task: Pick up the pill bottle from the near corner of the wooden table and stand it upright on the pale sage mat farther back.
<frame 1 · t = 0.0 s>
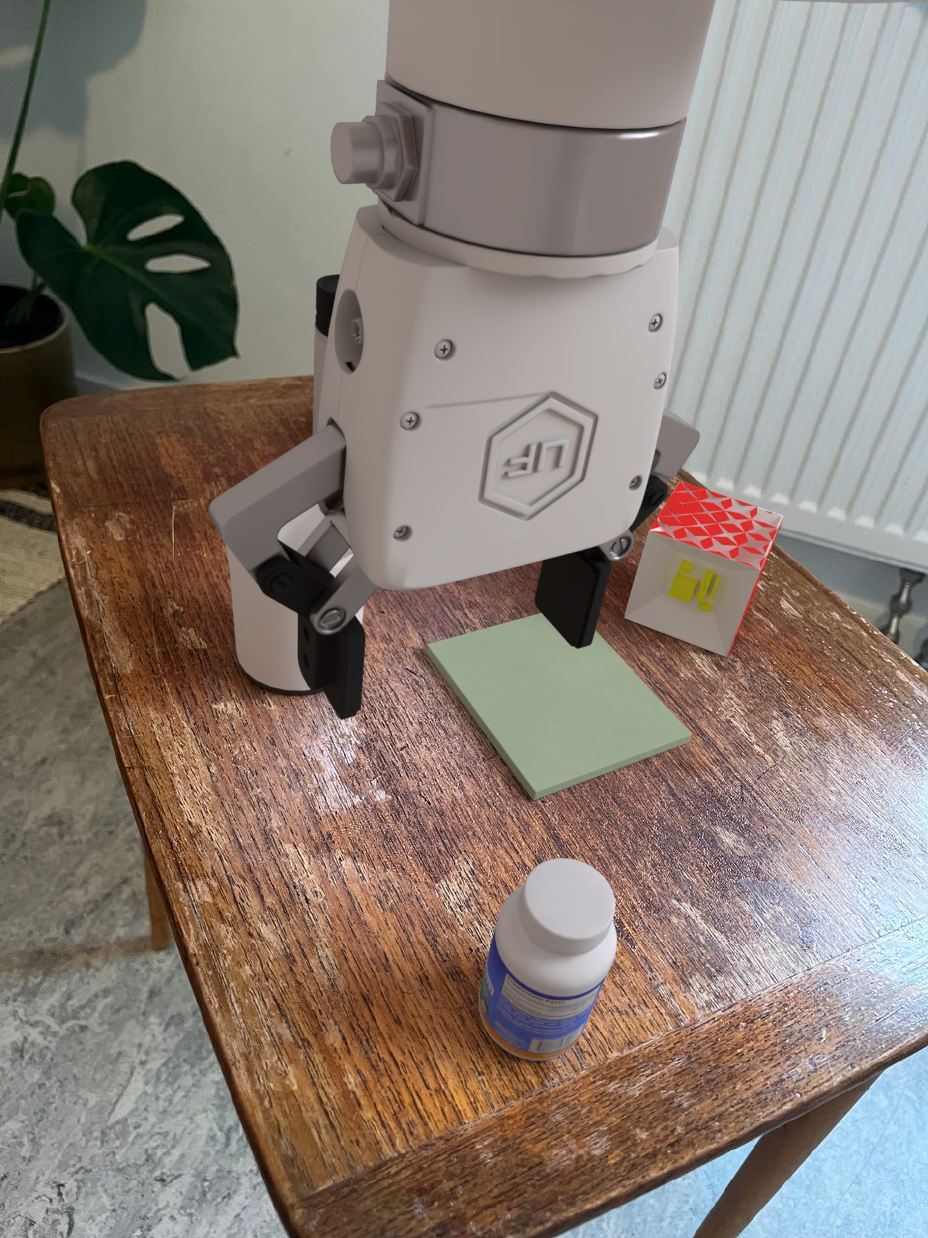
hand: (453, 656, 36), 20 cm above the table, tool pointing down, fingers open, 9 cm apart
running shoe: (457, 466, 85), on the table
mat: (553, 696, 64), on the table
red patterned cube box: (688, 610, 73), on the table
travel mug: (350, 532, 76), on the table
pill bottle: (530, 1012, 47), on the table
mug: (293, 647, 65), on the table
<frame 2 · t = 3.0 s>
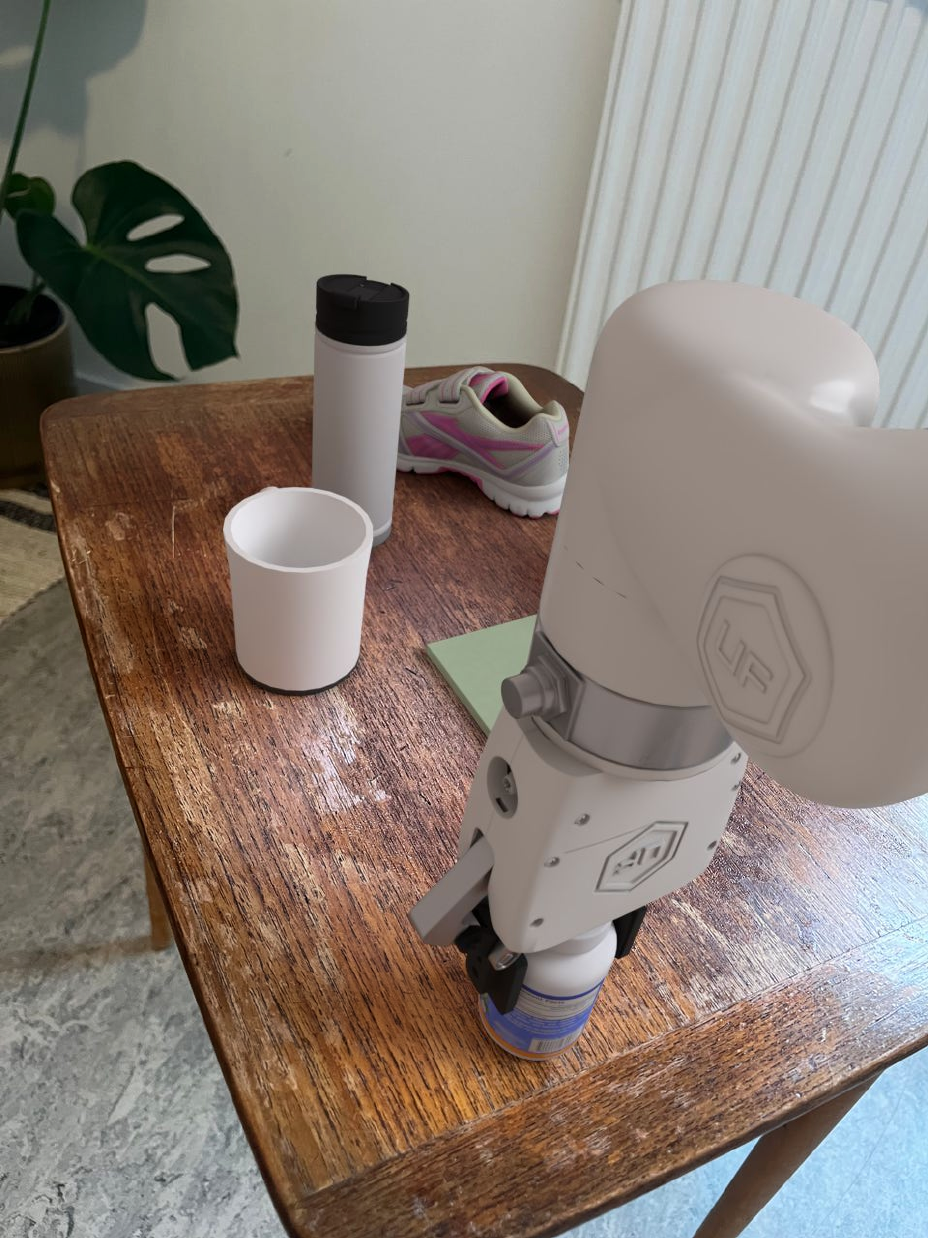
hand: (548, 955, 44), 5 cm above the table, tool pointing down, fingers closed on pill bottle, 5 cm apart
pill bottle: (530, 1012, 47), on the table, touching gripper
everything else where it was.
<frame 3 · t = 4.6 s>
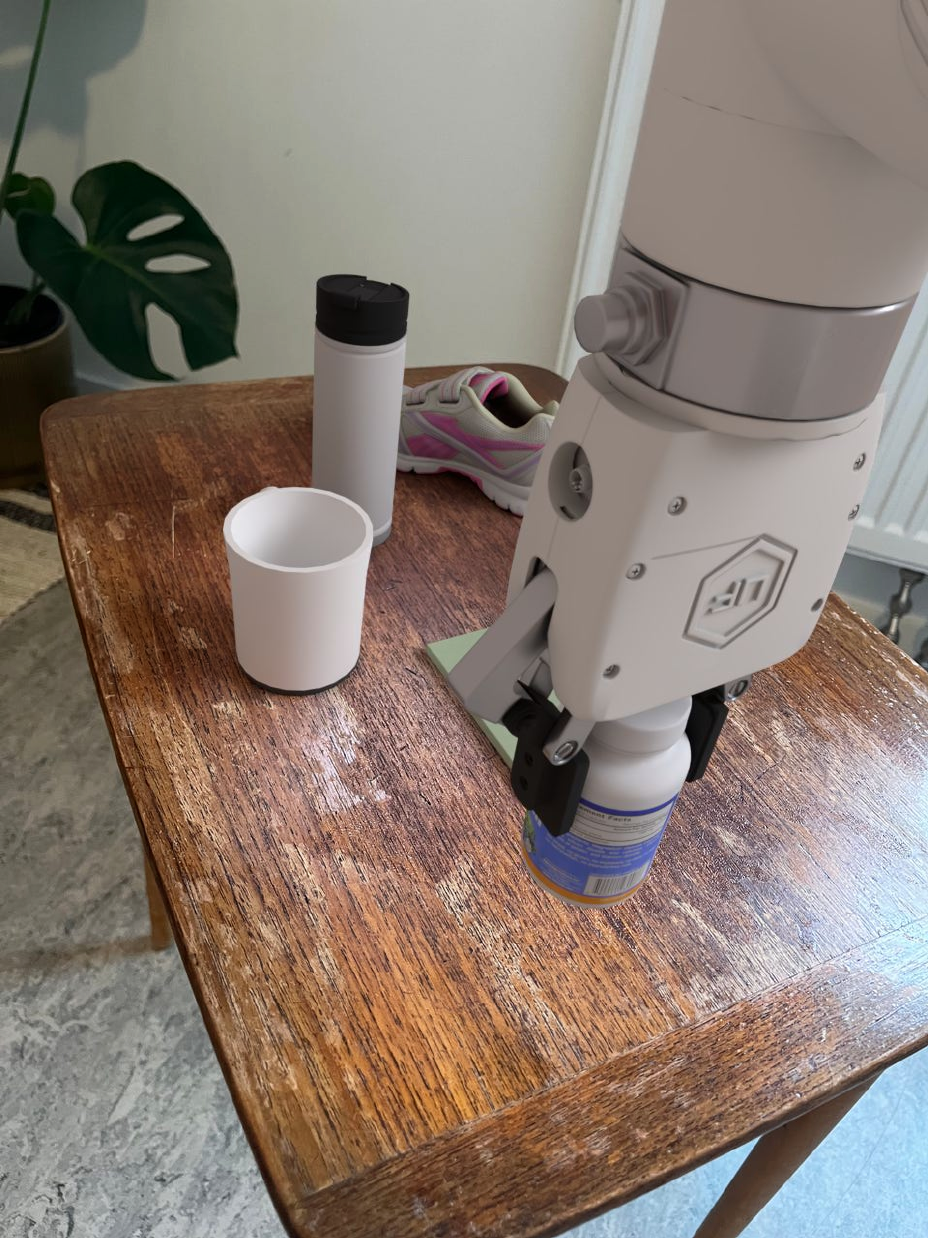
hand: (607, 777, 37), 17 cm above the table, tool pointing down, fingers closed on pill bottle, 5 cm apart
pill bottle: (582, 860, 40), point 12 cm above the table, touching gripper
everything else where it was.
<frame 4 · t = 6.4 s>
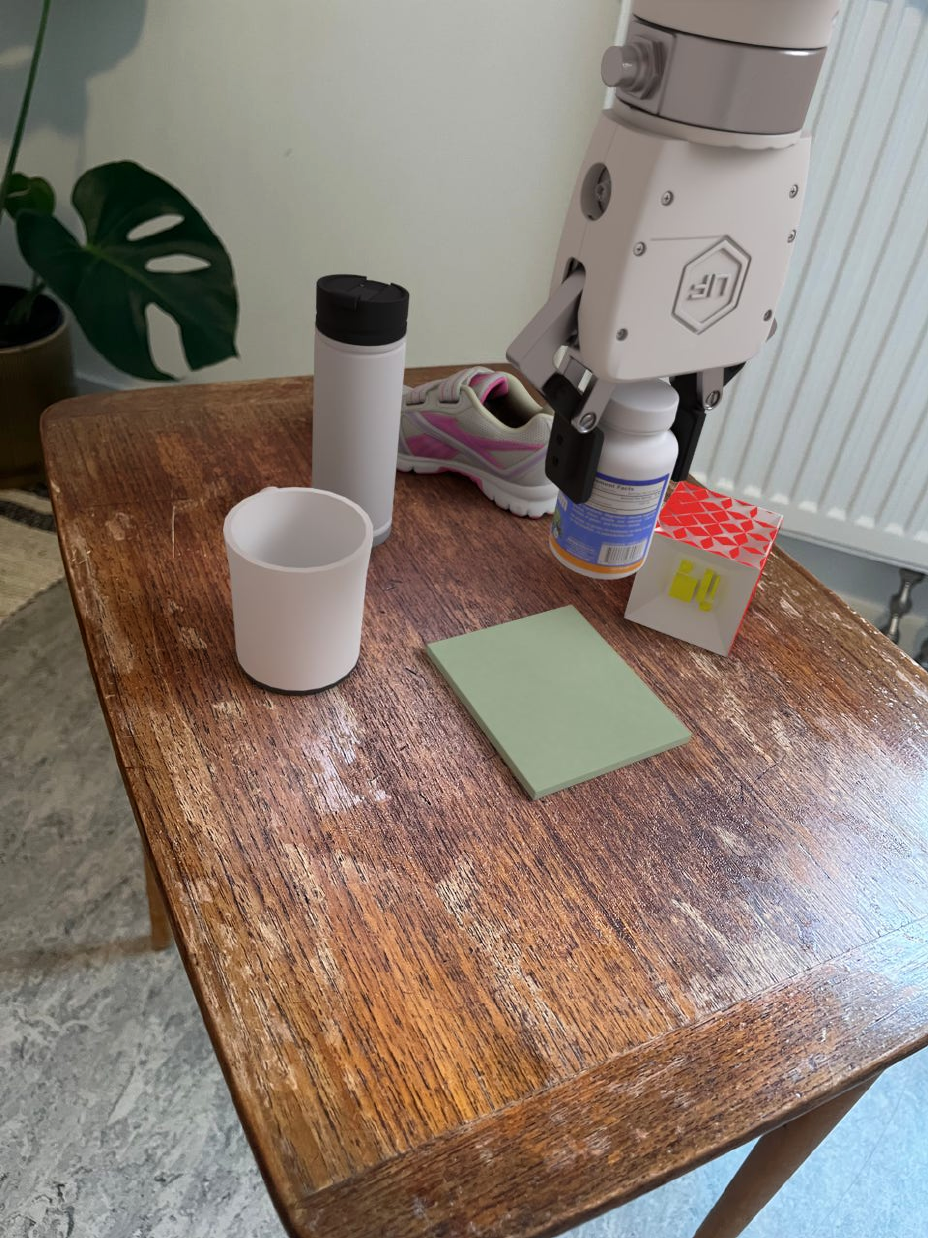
hand: (616, 475, 49), 19 cm above the table, tool pointing down, fingers closed on pill bottle, 5 cm apart
pill bottle: (595, 555, 52), point 14 cm above the table, touching gripper
everything else where it was.
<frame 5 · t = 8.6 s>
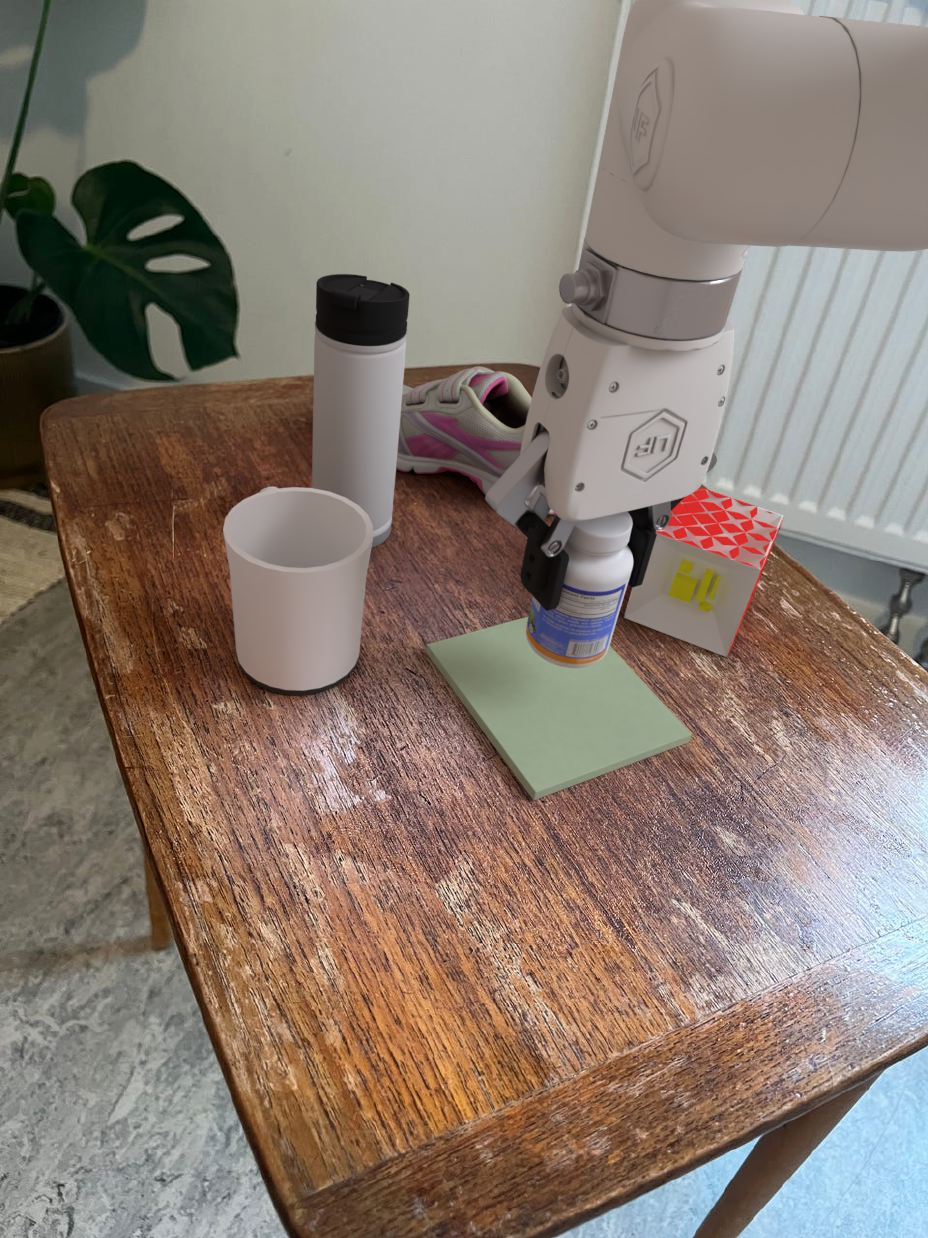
hand: (581, 582, 58), 10 cm above the table, tool pointing down, fingers closed on pill bottle, 5 cm apart
pill bottle: (566, 644, 61), point 5 cm above the table, touching gripper
everything else where it was.
when the fingers open (6 cm above the table, at t = 10.0 s): pill bottle stays where it is, resting on mat.
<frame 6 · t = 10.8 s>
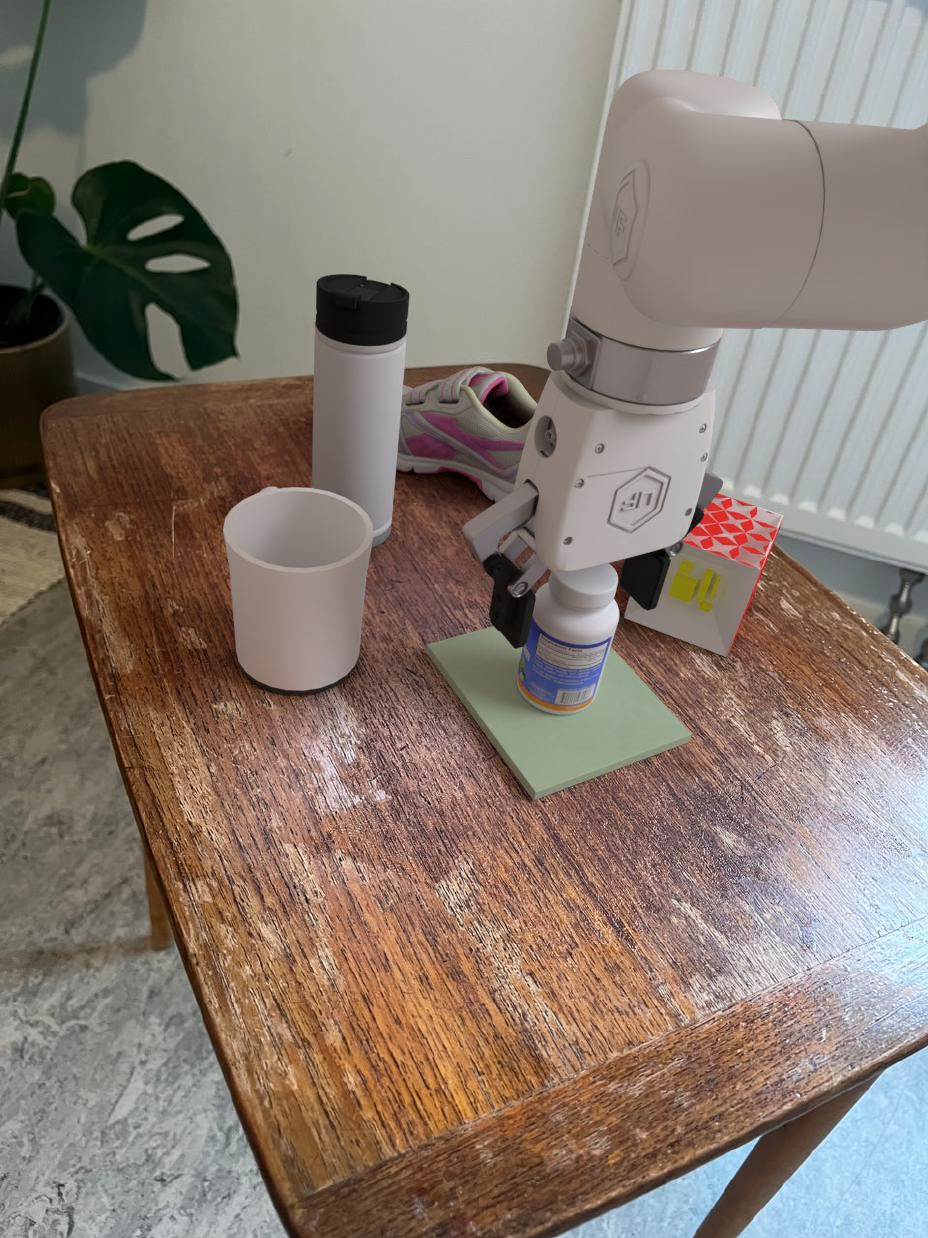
hand: (574, 614, 59), 7 cm above the table, tool pointing down, fingers open, 9 cm apart
pill bottle: (555, 690, 64), point 1 cm above the table, touching mat
everything else where it was.
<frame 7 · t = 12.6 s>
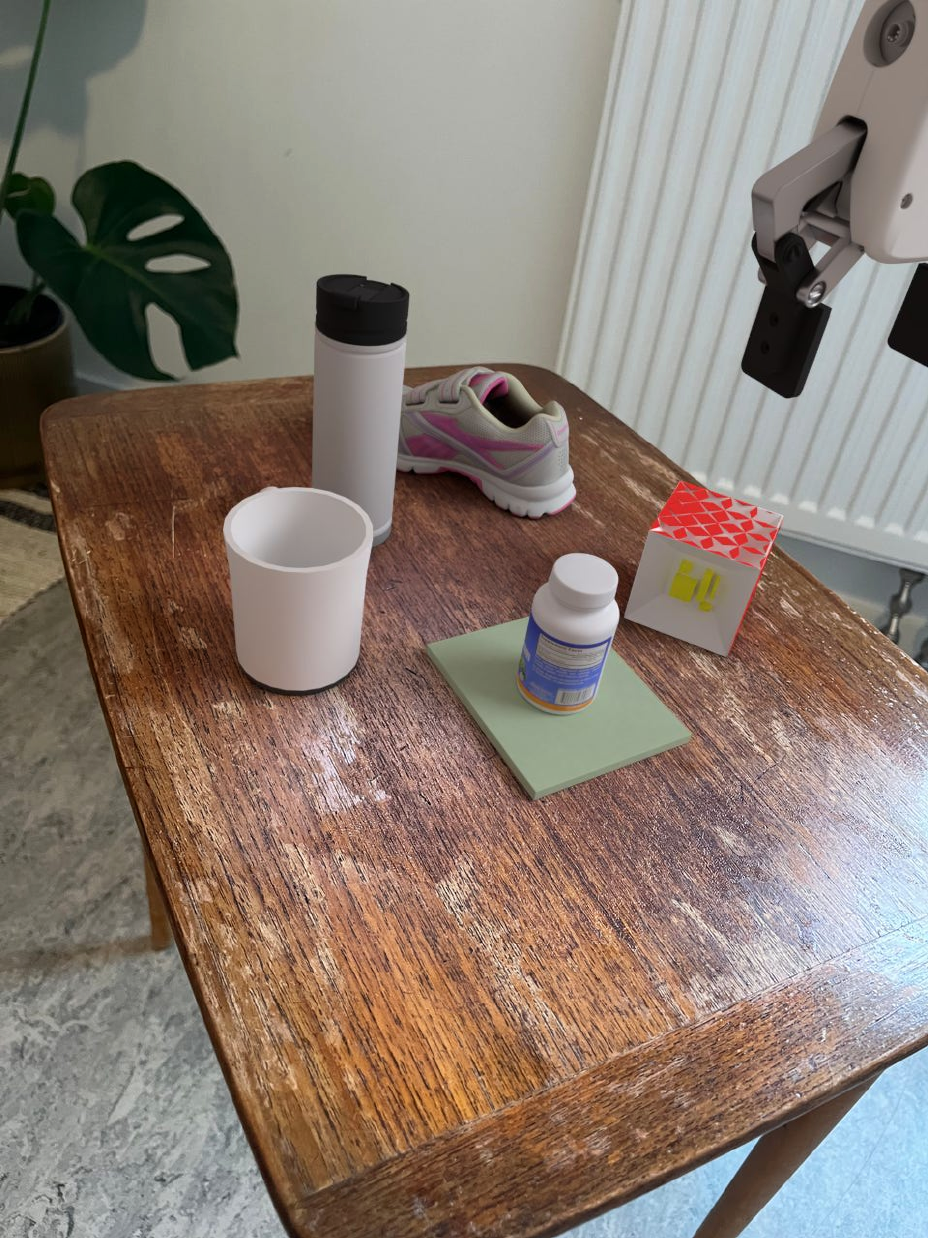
hand: (845, 370, 44), 27 cm above the table, tool pointing down, fingers open, 9 cm apart
nothing on the table moved.
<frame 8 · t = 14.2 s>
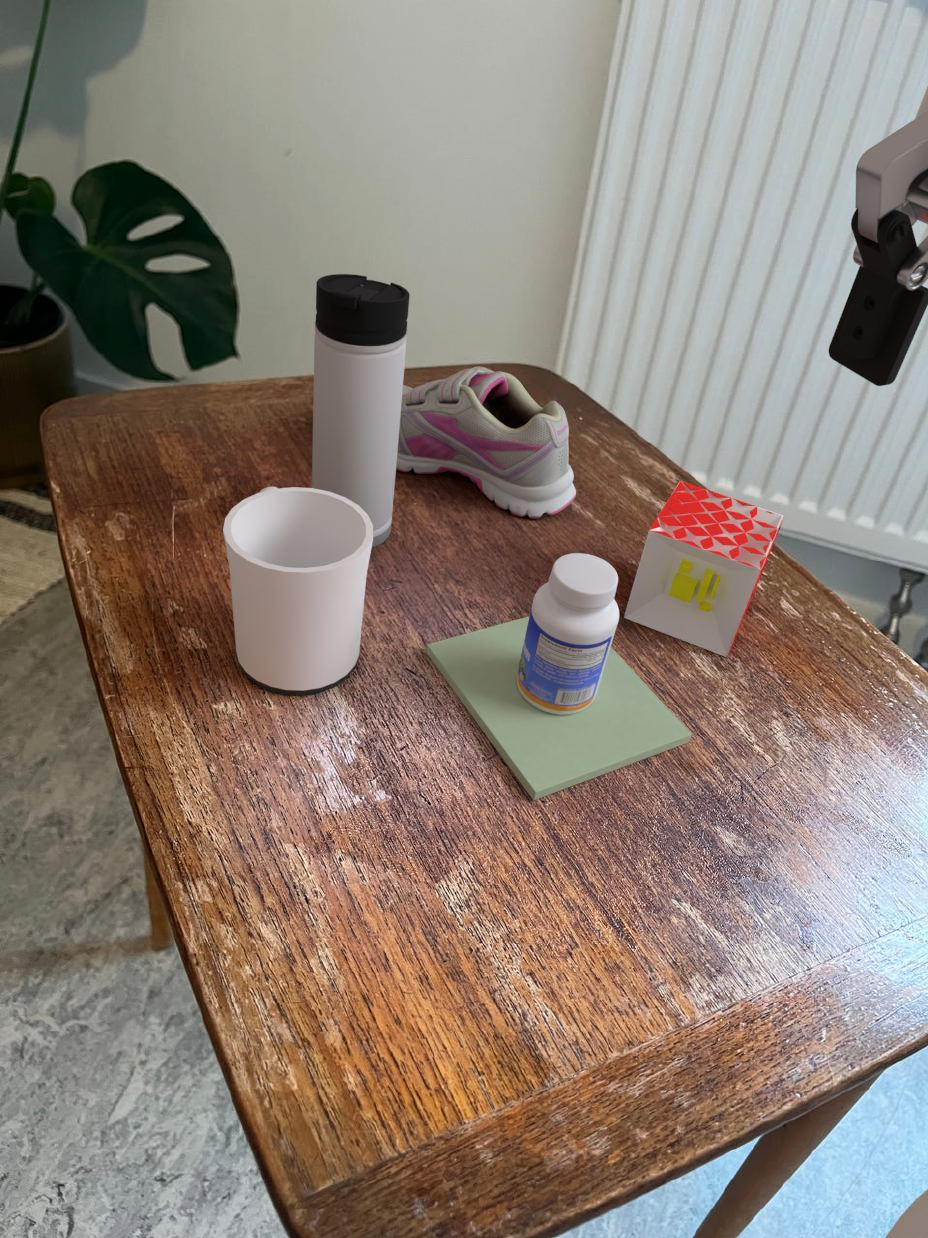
nothing on the table moved.
at the end: pill bottle inside the target area on the mat (0.1 cm from its centre), point 0.6 cm above the mat's base; pill bottle tilted 0°; the gripper is holding nothing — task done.
